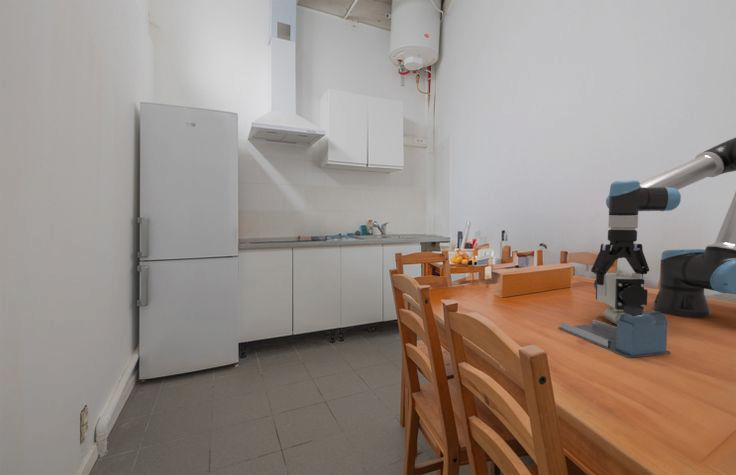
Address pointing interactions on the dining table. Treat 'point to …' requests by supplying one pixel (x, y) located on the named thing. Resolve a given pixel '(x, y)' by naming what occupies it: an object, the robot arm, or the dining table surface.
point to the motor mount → (627, 333)
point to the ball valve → (622, 294)
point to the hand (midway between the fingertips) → (619, 294)
